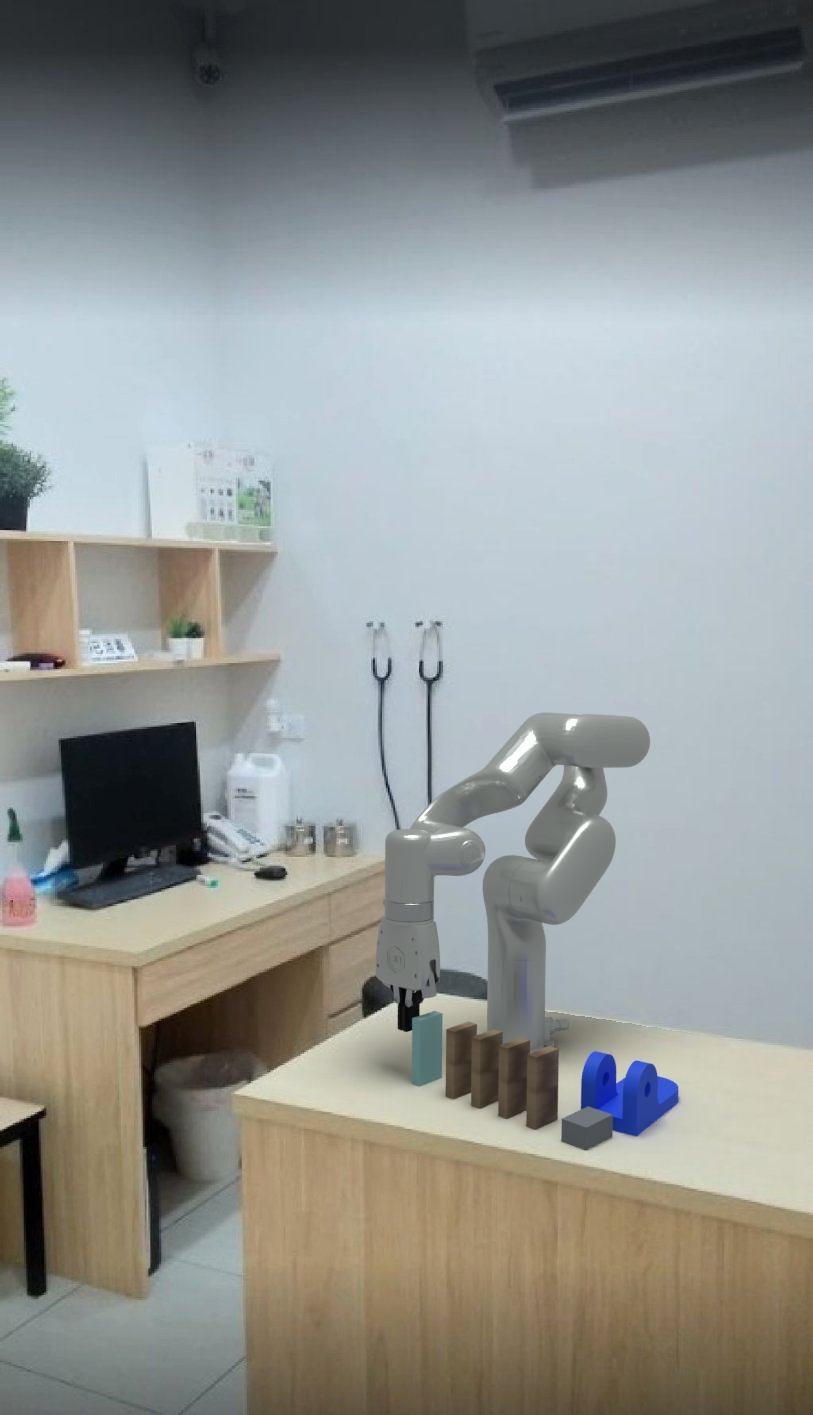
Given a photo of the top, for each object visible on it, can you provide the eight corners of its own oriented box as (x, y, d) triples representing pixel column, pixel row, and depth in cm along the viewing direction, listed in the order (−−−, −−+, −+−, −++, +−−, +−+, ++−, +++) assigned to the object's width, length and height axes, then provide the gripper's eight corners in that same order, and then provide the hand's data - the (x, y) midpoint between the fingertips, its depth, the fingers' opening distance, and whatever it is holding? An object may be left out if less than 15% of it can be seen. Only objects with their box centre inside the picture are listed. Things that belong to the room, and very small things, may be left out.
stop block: (587, 1127, 156) (588, 1106, 156) (612, 1136, 153) (612, 1114, 153) (561, 1140, 152) (561, 1118, 152) (586, 1149, 149) (586, 1127, 149)
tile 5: (548, 1116, 160) (549, 1045, 160) (557, 1119, 159) (558, 1048, 158) (526, 1126, 156) (527, 1054, 156) (535, 1129, 155) (536, 1057, 155)
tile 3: (493, 1096, 167) (494, 1029, 167) (501, 1099, 166) (502, 1031, 165) (471, 1105, 163) (471, 1036, 163) (479, 1108, 162) (480, 1039, 162)
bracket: (636, 1137, 153) (637, 1071, 153) (580, 1122, 158) (581, 1058, 158) (686, 1096, 168) (688, 1036, 168) (634, 1084, 173) (635, 1025, 172)
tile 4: (520, 1106, 164) (521, 1037, 163) (529, 1109, 162) (530, 1039, 162) (498, 1115, 160) (499, 1045, 160) (506, 1119, 159) (507, 1048, 158)
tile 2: (468, 1087, 170) (468, 1021, 170) (476, 1090, 169) (476, 1023, 169) (445, 1096, 167) (446, 1028, 166) (453, 1099, 166) (454, 1031, 165)
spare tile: (434, 1074, 175) (434, 1010, 175) (441, 1077, 174) (442, 1013, 174) (411, 1083, 172) (412, 1017, 171) (419, 1086, 171) (420, 1020, 170)
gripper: (358, 906, 177) (357, 1023, 178) (427, 922, 167) (426, 1046, 168) (392, 899, 183) (392, 1012, 183) (462, 914, 172) (461, 1035, 173)
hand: (408, 1028), depth 175 cm, fingers closed
